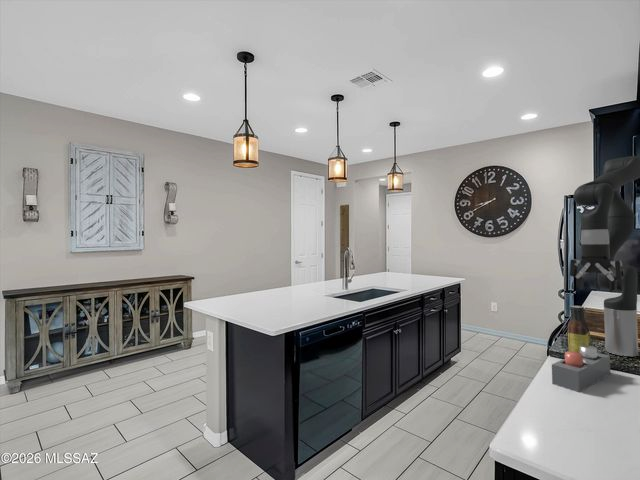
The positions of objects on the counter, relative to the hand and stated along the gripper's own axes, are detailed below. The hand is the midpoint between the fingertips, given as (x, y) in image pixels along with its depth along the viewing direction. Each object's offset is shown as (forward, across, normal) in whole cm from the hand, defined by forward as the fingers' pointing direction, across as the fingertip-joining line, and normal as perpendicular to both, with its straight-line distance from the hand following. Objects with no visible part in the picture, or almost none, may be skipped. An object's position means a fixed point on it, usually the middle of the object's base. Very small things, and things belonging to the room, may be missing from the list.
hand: (596, 290), depth 114 cm
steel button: (+22, -1, +9) cm, 24 cm away
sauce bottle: (+27, +6, -1) cm, 27 cm away
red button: (+23, -1, +19) cm, 30 cm away
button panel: (+26, -1, +14) cm, 30 cm away
